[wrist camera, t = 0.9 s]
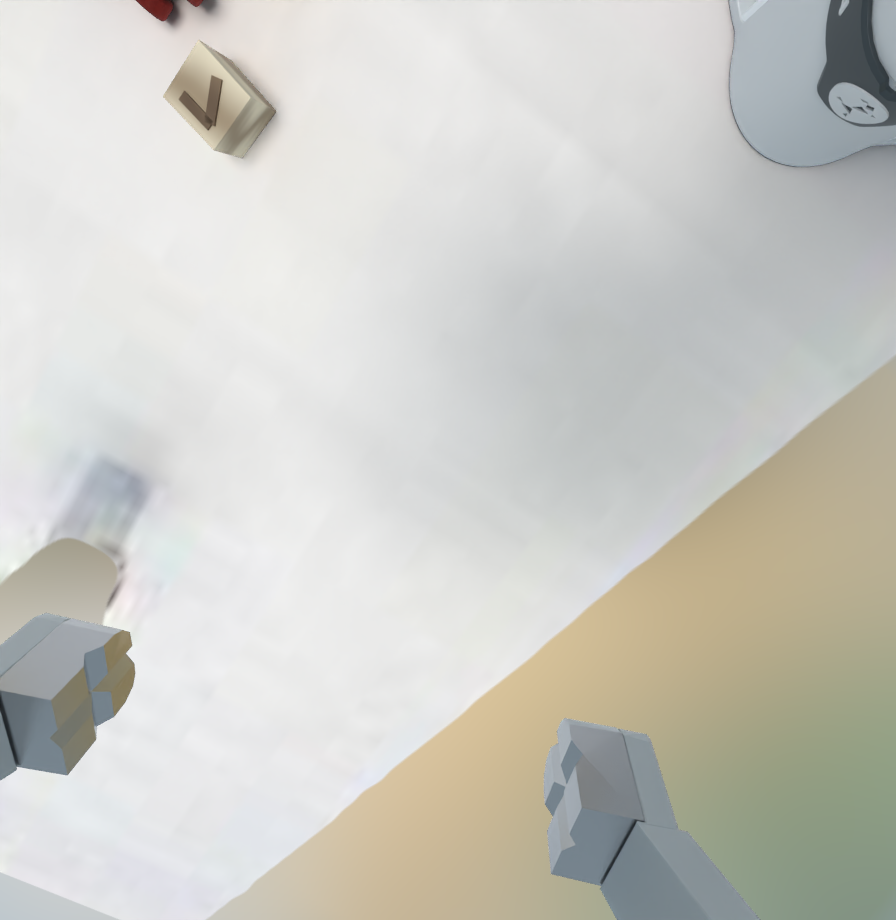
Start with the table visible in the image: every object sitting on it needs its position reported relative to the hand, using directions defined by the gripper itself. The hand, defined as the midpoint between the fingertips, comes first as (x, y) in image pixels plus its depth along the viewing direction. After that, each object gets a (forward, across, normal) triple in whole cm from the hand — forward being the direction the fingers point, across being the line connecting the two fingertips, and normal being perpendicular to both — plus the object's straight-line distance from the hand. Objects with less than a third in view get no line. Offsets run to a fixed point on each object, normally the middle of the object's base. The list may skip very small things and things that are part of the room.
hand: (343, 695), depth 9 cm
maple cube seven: (+44, +23, -14) cm, 51 cm away
